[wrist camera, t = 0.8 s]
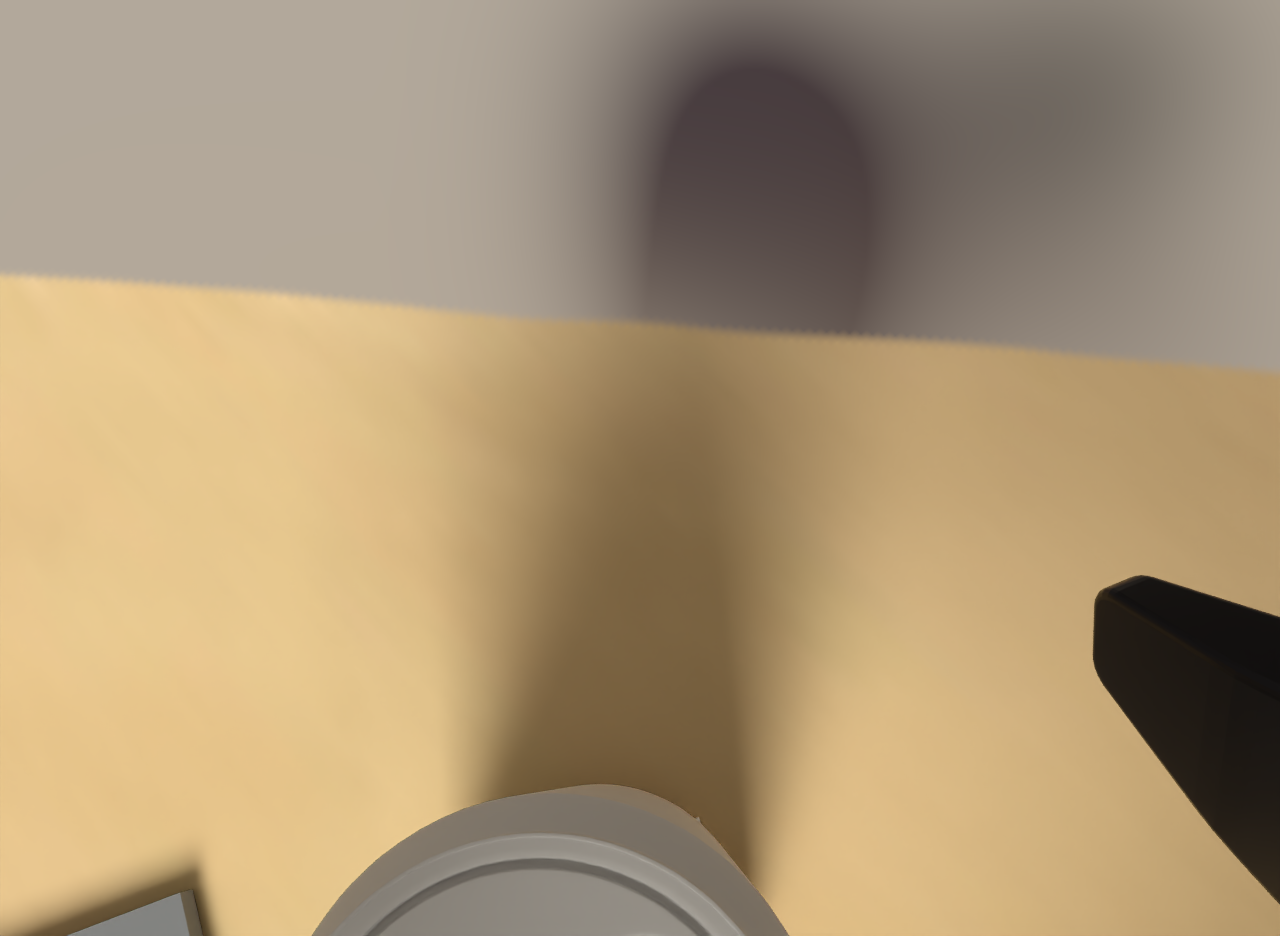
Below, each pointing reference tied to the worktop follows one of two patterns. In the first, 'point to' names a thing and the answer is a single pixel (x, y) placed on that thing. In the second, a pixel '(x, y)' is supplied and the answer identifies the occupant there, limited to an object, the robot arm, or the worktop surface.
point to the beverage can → (556, 874)
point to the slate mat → (153, 920)
